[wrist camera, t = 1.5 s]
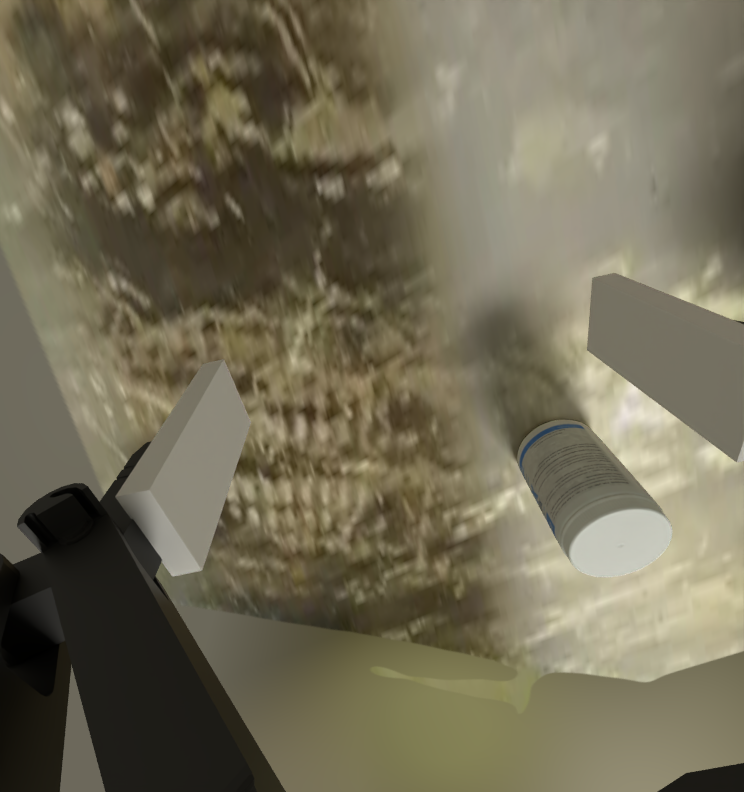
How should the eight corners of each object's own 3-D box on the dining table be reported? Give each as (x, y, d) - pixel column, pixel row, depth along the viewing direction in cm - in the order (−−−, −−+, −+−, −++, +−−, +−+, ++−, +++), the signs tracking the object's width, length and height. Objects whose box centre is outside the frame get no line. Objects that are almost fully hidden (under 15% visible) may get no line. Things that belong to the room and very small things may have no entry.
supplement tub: (500, 464, 51) (544, 563, 38) (545, 404, 47) (612, 493, 34) (563, 488, 53) (625, 590, 40) (612, 432, 49) (699, 527, 36)
